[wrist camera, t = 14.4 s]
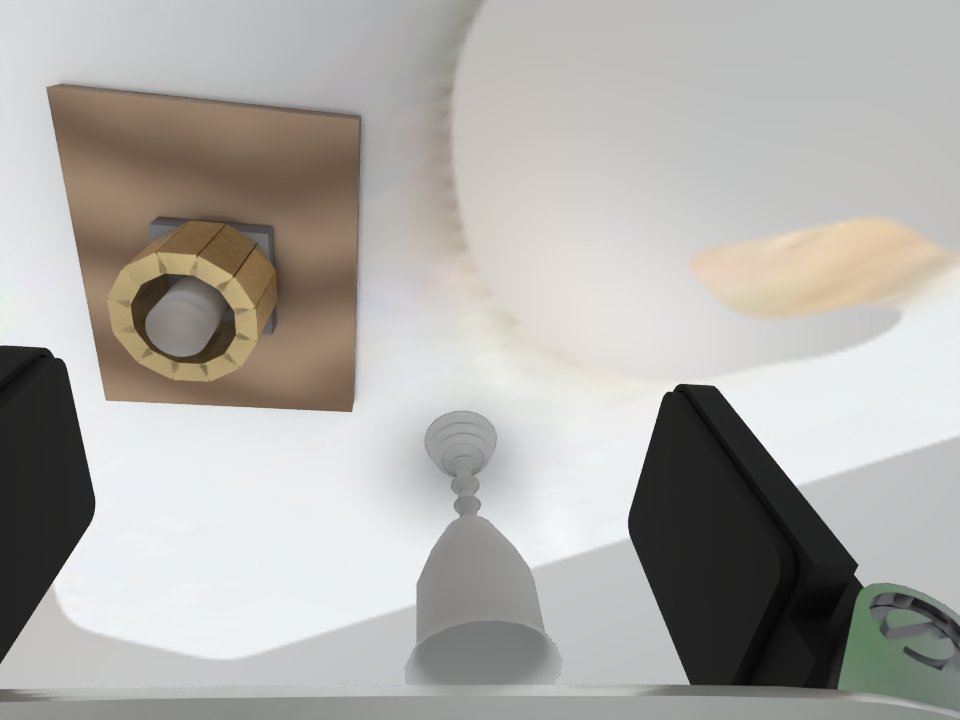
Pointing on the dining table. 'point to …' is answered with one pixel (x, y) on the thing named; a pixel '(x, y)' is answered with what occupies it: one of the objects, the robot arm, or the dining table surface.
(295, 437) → the dining table surface
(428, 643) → the chalice
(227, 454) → the dining table surface
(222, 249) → the ring
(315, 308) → the shaft stand
